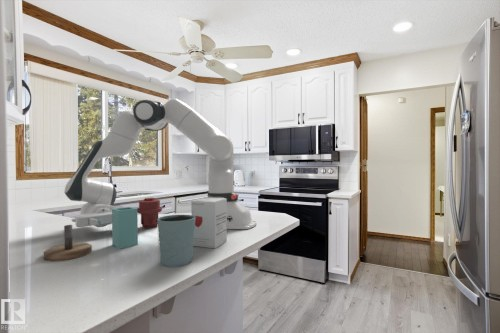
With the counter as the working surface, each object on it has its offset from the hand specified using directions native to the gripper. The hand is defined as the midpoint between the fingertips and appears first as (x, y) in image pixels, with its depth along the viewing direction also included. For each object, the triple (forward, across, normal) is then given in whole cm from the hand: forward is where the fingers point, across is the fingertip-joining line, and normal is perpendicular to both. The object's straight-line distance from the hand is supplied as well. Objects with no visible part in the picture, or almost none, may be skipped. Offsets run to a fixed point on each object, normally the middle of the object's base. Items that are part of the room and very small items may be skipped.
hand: (112, 220), depth 98 cm
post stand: (+9, -15, +6) cm, 19 cm away
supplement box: (+31, +20, +7) cm, 38 cm away
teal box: (+12, 0, +6) cm, 13 cm away
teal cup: (+38, +4, +7) cm, 39 cm away
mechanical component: (-7, +17, +7) cm, 20 cm away
